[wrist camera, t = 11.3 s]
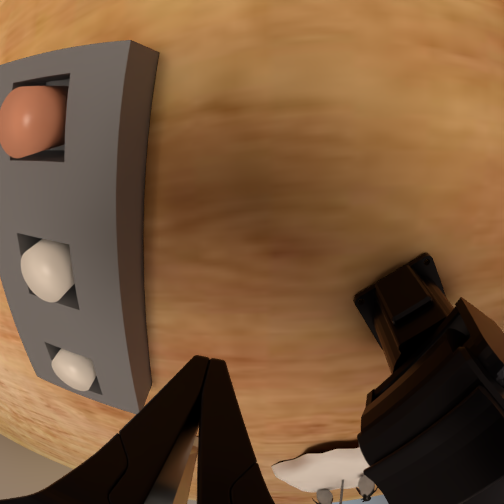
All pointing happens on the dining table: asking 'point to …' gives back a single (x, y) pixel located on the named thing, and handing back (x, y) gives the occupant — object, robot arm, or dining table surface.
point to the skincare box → (187, 476)
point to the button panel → (85, 217)
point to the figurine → (327, 473)
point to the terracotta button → (33, 119)
